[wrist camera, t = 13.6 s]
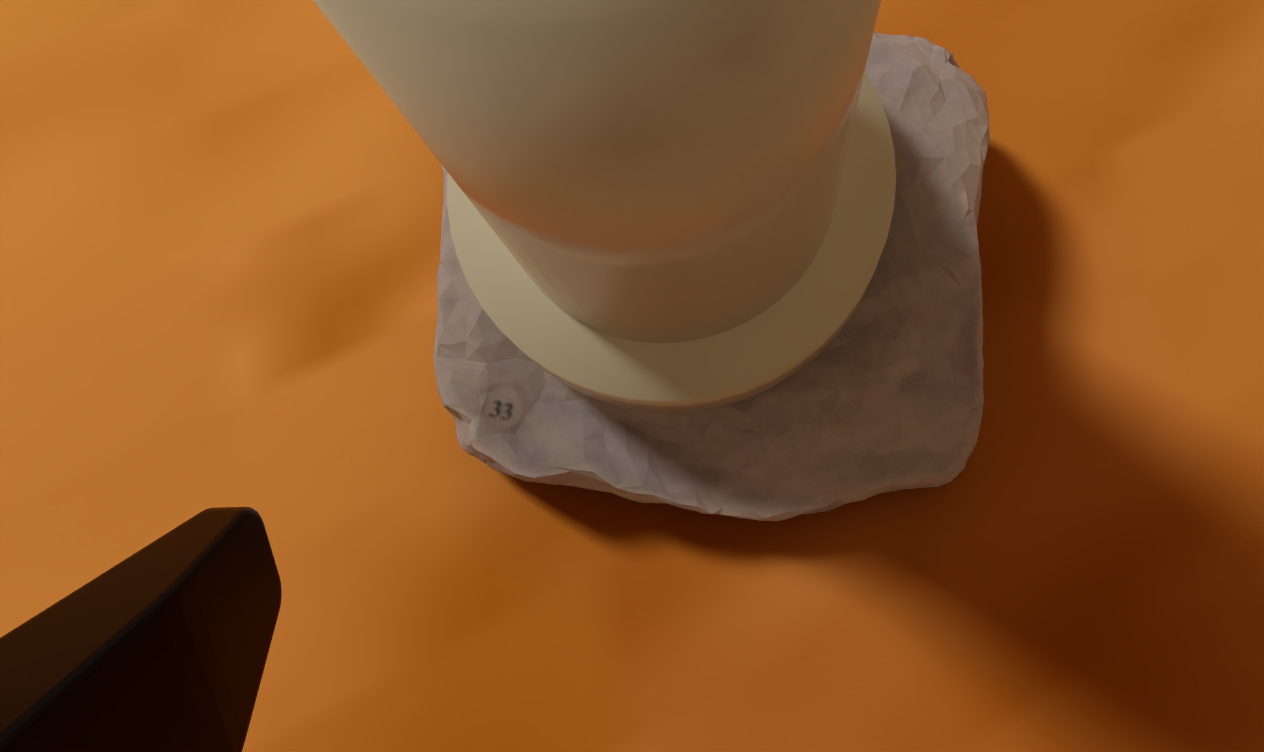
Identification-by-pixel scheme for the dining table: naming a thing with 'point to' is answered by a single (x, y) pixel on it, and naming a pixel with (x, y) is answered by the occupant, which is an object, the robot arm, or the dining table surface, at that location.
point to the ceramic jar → (649, 178)
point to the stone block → (803, 403)
